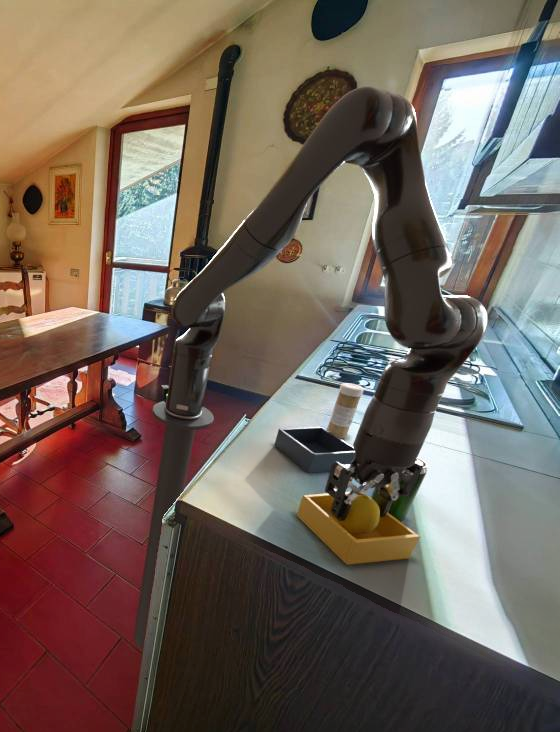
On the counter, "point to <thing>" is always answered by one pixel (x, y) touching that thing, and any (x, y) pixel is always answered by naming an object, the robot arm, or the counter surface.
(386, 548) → the yellow bin
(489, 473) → the counter surface
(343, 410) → the sprinkles bottle
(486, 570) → the counter surface
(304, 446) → the slate bin
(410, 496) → the beer can
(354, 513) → the lemon
